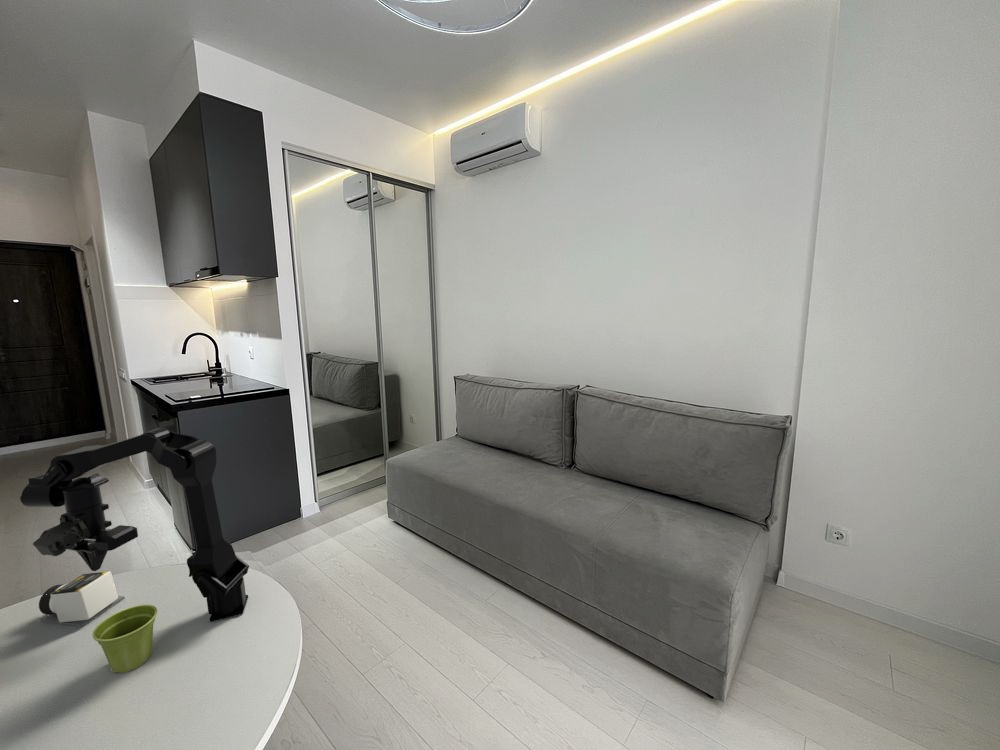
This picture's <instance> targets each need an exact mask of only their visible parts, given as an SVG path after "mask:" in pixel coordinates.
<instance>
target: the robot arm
mask: <svg viewBox="0 0 1000 750" xmlns="http://www.w3.org/2000/svg"><path fill="white" fill-rule="evenodd" d="M170 448H172V449H174V450H172V449H170ZM144 452H147V453H149V454H151V456H152V457H153V459H154V460H155V461H156V463H158V464H159V465H161V466H163V467H165V468H166V467H167V468H168V469H170V473H171V474H172V477H173V479H174V480H175V481H176V482H177V483H179V484H180V485H181V486H182V487H183V488H184V493H185V498H186V503H187V507H188V512H189V516H190V520H191V521H190V522H191V526H192V530H193V537H194V540H195V546H196V549H195V552H194V553H193V554H191V556H189V557H188V558H186V565H187V568H188V572H189V574H188V577H189V578H192V581H193V583H194V584H195V585H196V586H197V589H198V590H199V592H200V593H201V596H202V597H203V598H206V604H207V605H206V606H207V612H208V615H209V616H210V617H209V621H208V622H210V623H212V622H216V621H221V620H225V619H229V618H232V617H237V616H240V615H241V616H242V615H243V614H244V613H245V608H246V605H247V602H248V599H249V595H248V594H246V588H245V587H246V585H245V578H244V577H245V575H247V574H248V571H249V567H250V565H249V564H248V563H247V562H245V561H244V560H243V559H241V558H240V557H239V556H238V555H236V553H235V550H234V547H233V545H232V544H231V543H230V542H228V540H226V539H225V538H224V535H223V531H222V527H221V526H222V525H221V521H220V515H219V511H218V506H217V500H216V495H215V491H214V485H213V478H214V477H213V476H214V473H215V470H216V467H217V450H216V447H215V445H214V444H213V443H211V442H209V440H208V441H207V440H204V439H200V438H198V437H196V436H194V435H189V434H186V433H185V434H184V433H180V432H176V431H173V430H171V429H169V428H165V427H157V428H155V429H151V430H149V431H146V432H144V433H142V434H139V435H136V436H132V437H129V438H127V439H126V438H125V439H122V440H120V441H116V442H113V443H110V444H104V445H101V444H97V445H96V444H95V445H87V446H83V447H80V448H77V449H73V450H69V451H67V452H65V453H62V454H59V455H56V456H54V457H52V458H51V459H50V466H49V467H48V469H47V471H46V472H45V474H38V475H35V476H32V477H29V478H28V484H27V485H26V486H25V487H24V488H23V490H22V492H21V495H20V497H19V498H20V499H19V500H20V502H21V503H22V505H23V506H25V507H27V508H51V507H52V508H55V507H57V508H59V507H63V506H64V508H65V513H63V514H60V517H59V524H57V525H54V526H52V527H50V528H48V529H45V530H44V531H42V533H41V534H40V536H39V538H38V539H36V540H34V542H33V543H32V546H34V547H35V549H36V550H37V551H38V552H39V553H40V554H41V555H42V556H51V557H58V556H60V555H63V553H65V552H66V551H67V550H69V551H74V552H76V553H77V555H79V556H80V557H81V558H82V559H83V561H84V562H85V563H86V565H87V566H88V568H89V569H90V570H91V571H92V572H97V571H98V570H100V569H101V567H102V565H103V562H104V560H105V558H106V556H107V554H108V552H110V551H113V550H115V549H119V548H120V547H121V546H123V545H125V544H127V543H129V542H131V541H134V540H135V539H136V538H138V537H139V532H138V531H139V530H138V527H137V526H136V527H135V526H133V525H122V524H120V525H117V526H115V527H113V528H109V527H111V526H112V525H113V524H112V520H106V515H105V511H106V510H108V509H110V507H109V504H108V503H103V498H102V493H101V488H100V487H101V486H102V485H104V484H107V483H108V482H109V481H110V480H109V479H108V478H107V477H106V476H102V475H100V474H99V473H95V474H92V475H89V476H87V477H84V475H86V474H90V473H92V472H94V471H96V470H99V469H102V467H104V466H106V465H108V464H110V463H112V462H115V461H118V460H122V459H124V458H128V457H131V456H132V457H133V456H134V455H138V454H141V453H144ZM82 476H83V477H82Z"/></svg>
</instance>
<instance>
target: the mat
mask: <svg viewBox="0 0 1000 750" xmlns="http://www.w3.org/2000/svg"><path fill="white" fill-rule="evenodd" d="M125 598H126V597H125V595H123V596H122V595H118V599H117V600H115V601H114V602H112V603H111V604H110V605H108V606H107V607H105V608H104V609H103V610H101V611H100V612H98V613H97V614H96V615H94V616H93V617H91V618H90V619H88V620H79V621H70V622H59V620H58V617H57V614H51V615H46V616H44V617H43V618H41V619H40V622H41V623H49V624H57V625H64V626H65V625H66V626H74V627H81V628H82V627H83V626H86V625H87V624H89V622H91V621H93V620H95V619H96V618H97V617H100V615H102V614H103V613H105V612H106V611H108V610H109V609H111V608H113V607H114V606H116V605H118V604H119V603H120V602H121V601H123V600H124V599H125Z"/></svg>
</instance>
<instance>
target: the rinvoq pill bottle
mask: <svg viewBox="0 0 1000 750" xmlns="http://www.w3.org/2000/svg"><path fill="white" fill-rule="evenodd" d="M46 594H47V595H46ZM118 596H119V595H118V591H117V589H116V586H115V581H114V578H113V575H112V572H111V570H110V571H108V570H107V571H102V572H92V573H91V572H90V573H89V572H88V573H83V574H81V575H79V576H78V577H76V578H74V579H72V580H70V581H69V582H68V583H61V584H56V585H53V586H51V587H48V589H47V590H45V592H43V594H42V595H41V597H40V599H39V602H38V609H39V611H40V612H41V613H42V614H43V615H46V616H48V615H51V614H57V617H58V620H59V622H70V621H79V620H88V619H90V618H91V617H93V616H94V615H96V614H97V613H98V612H100V611H101V610H103V609H104V608H105V607H107V606H108V605H110V604H111V603H112V602H114V601H115V600H117V599H118Z"/></svg>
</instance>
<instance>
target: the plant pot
mask: <svg viewBox="0 0 1000 750" xmlns="http://www.w3.org/2000/svg"><path fill="white" fill-rule="evenodd" d="M157 615H158V609H157V607H156V606H155V605H152V604H139V605H135V606H130V607H127V608H124V609H122V610H119V611H117V612H115V613H114V614H112V615H110V616H108V617H106V618H104V619H103V620H102V621H101V622H100V623H98V625H96V627H95V628H94V629H93V631H92V633H91V634H92V638H93V640H94V641H96V642H97V643H98V645H100V646H101V649H102V651H103V652H104V655H105V658H106V660H107V662H108V665H109V667H110V670H111V672H113V673H121V674H123V673H127V672H130V671H133V670H134V669H136V668H139V667H140V666H141V665H143V664H144V663H145V662H146V661H147V659H150V658H151V656H152V655H153V644H154V643H153V636H154V623H155V621H156V617H157Z"/></svg>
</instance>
